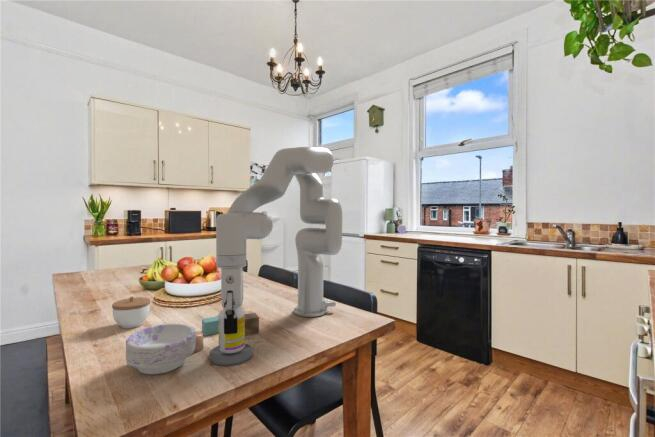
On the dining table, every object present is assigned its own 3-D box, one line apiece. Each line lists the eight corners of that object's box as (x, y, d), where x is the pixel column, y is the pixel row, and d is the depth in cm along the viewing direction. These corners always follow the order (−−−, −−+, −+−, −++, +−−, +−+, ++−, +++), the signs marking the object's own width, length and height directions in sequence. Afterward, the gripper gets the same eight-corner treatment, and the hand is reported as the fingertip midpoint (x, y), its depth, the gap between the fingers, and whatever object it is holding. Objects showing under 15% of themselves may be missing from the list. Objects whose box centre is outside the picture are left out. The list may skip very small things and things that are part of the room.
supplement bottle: (250, 347, 85) (250, 299, 85) (230, 356, 80) (230, 306, 79) (233, 341, 89) (232, 295, 88) (213, 350, 83) (212, 301, 83)
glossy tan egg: (201, 344, 91) (201, 330, 90) (204, 350, 87) (204, 335, 87) (186, 347, 88) (186, 333, 88) (189, 353, 85) (188, 339, 85)
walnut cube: (254, 327, 104) (254, 312, 104) (259, 333, 99) (259, 317, 99) (239, 330, 102) (239, 314, 101) (242, 336, 97) (242, 319, 97)
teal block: (221, 327, 104) (221, 315, 104) (225, 331, 101) (224, 319, 101) (202, 331, 101) (201, 319, 100) (205, 335, 97) (205, 322, 97)
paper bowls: (182, 380, 72) (182, 346, 72) (112, 383, 71) (111, 348, 70) (203, 350, 87) (203, 321, 87) (145, 352, 86) (145, 323, 86)
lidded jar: (145, 317, 113) (145, 290, 113) (154, 325, 105) (154, 297, 105) (109, 324, 105) (108, 296, 105) (116, 334, 98) (116, 303, 97)
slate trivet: (253, 345, 91) (253, 340, 91) (252, 363, 80) (252, 359, 80) (212, 348, 88) (212, 344, 88) (206, 368, 78) (206, 363, 78)
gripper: (244, 266, 76) (245, 340, 76) (247, 255, 93) (247, 315, 93) (211, 267, 74) (212, 343, 75) (220, 255, 91) (221, 317, 92)
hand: (232, 327), depth 84 cm, fingers closed on supplement bottle, 6 cm apart
